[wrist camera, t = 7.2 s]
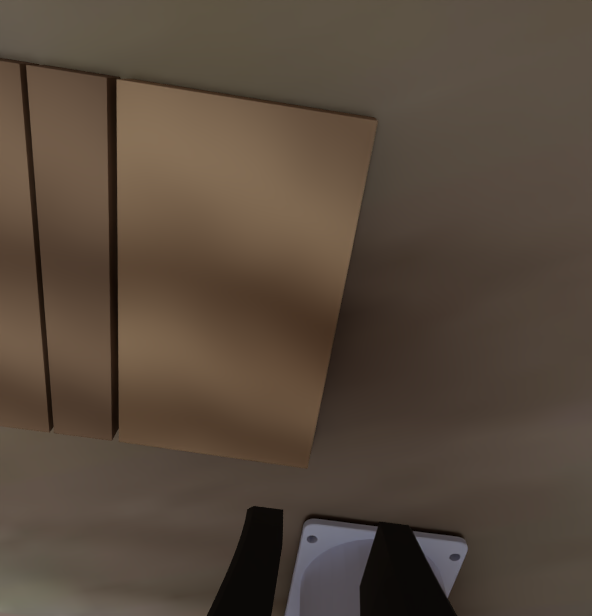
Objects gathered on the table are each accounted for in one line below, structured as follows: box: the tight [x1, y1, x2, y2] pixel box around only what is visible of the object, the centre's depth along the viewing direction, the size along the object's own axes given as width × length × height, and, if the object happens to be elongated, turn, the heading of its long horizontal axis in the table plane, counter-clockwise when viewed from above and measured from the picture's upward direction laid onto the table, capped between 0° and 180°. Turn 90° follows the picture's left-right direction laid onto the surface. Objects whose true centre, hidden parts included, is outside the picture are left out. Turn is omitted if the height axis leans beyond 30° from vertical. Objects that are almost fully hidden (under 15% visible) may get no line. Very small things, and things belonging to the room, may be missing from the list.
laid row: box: [0, 58, 120, 441], centre depth 19 cm, size 14×5×1 cm, turn 172°
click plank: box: [117, 79, 378, 469], centre depth 19 cm, size 14×8×1 cm, turn 172°
